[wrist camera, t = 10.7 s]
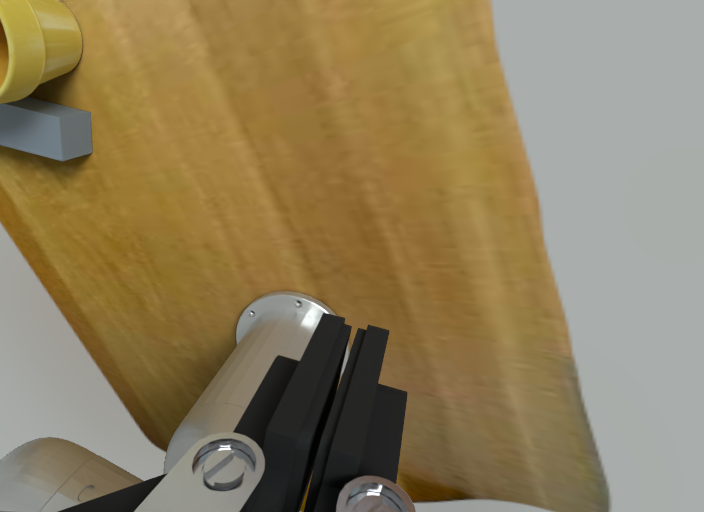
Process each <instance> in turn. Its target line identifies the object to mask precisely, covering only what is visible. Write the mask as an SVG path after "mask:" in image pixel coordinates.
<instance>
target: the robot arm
mask: <svg viewBox="0 0 704 512" xmlns="http://www.w3.org/2000/svg"><path fill="white" fill-rule="evenodd" d="M300 301H301V302H300ZM344 322H345V318H343V317H339V316H337V315H336V314H335V313H334V312H333V311H332V310H331V309H330V308H328V307H327V306H326V305H324V304H323V303H322V302H320V301H318V300H316V299H314V298H312V297H310V296H308V295H305V294H301V293H297V292H290V291H277V292H273V293H268V294H265V295H263V296H261V297H259V298H257V299H256V300H255V301H253V302H252V303H251V304H250V305H249V306H248V307H247V308H246V309H245V311H244V312H243V314H242V315H241V317H240V319H239V321H238V324H237V329H236V342H237V346H236V348H235V349H234V351H233V352H232V353H231V355H230V356H229V357H228V359H227V360H226V362H225V363H224V364H223V366H222V367H221V368H220V370H219V371H218V373H217V374H216V375H215V377H214V378H213V379H212V381H211V382H210V384H209V385H208V386H207V388H206V389H205V390H204V392H203V393H202V395H201V396H200V397H199V399H198V400H197V402H196V403H195V404H194V406H193V407H192V408H191V410H190V411H189V413H188V414H187V415H186V417H185V418H184V420H183V421H182V422H181V424H180V425H179V427H178V428H177V430H176V431H175V433H174V435H173V437H172V439H171V441H170V443H169V446H168V449H167V453H166V457H165V462H164V474H163V475H161V476H158V477H155V478H152V479H149V480H147V481H143V480H141V479H139V478H137V477H136V476H134V475H132V474H130V473H129V472H127V471H125V470H123V469H122V468H120V467H118V466H116V465H115V464H113V463H111V462H109V461H108V460H106V459H104V458H102V457H100V456H98V455H96V454H94V453H93V452H91V451H89V450H87V449H86V448H84V447H82V446H79V445H77V444H75V443H73V442H70V441H67V440H64V439H59V438H51V437H48V438H39V439H35V440H32V441H29V442H27V443H25V444H23V445H21V446H19V447H17V448H16V449H14V450H13V451H12V452H10V453H9V454H7V455H6V456H5V457H3V458H2V459H1V460H0V512H299V511H300V508H301V505H302V502H303V499H304V496H305V493H306V490H307V487H308V484H309V481H310V478H311V475H312V478H311V483H310V487H309V491H308V496H307V500H306V505H305V509H304V512H416V511H415V507H414V505H413V503H412V501H411V499H410V498H409V496H408V495H407V494H406V493H405V492H404V491H403V490H402V489H401V488H400V487H399V486H398V485H396V480H397V472H398V464H399V456H400V448H401V441H402V433H403V425H404V417H405V409H406V401H407V392H406V391H402V390H399V389H395V388H392V387H388V386H385V385H381V384H378V380H379V376H380V371H381V367H382V362H383V358H384V353H385V349H386V344H387V340H388V335H389V330H386V329H382V328H379V327H375V326H371V325H368V327H367V330H364V329H360V328H358V330H357V333H356V336H355V339H354V342H353V345H352V348H351V351H350V343H349V337H350V332H351V328H352V326H349V325H346V324H344ZM342 374H343V375H342ZM341 375H342V378H341V381H340V384H339V379H340V377H341ZM338 384H339V387H338ZM337 388H338V390H337ZM336 392H337V393H336ZM312 472H313V474H312Z"/></svg>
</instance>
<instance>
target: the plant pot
mask: <svg viewBox="0 0 704 512" xmlns="http://www.w3.org/2000/svg"><path fill="white" fill-rule="evenodd" d="M82 45H83V44H82V35H81V31H80V28H79V25H78V23H77V21H76V19H75V18H74V16H73V14H72V13H71V12H70V10H69V9H68V8H67V7H66V6H65V5H64V4H63V3H62V2H60V1H59V0H0V104H2V103H8V102H13V101H17V100H20V99H23V98H25V97H26V96H28V95H29V94H31V93H32V92H33V91H34V90H35V89H36V87H37V86H38V85H39V84H41V83H44V82H46V81H48V80H51V79H53V78H55V77H58V76H60V75H63V74H65V73H68V72H70V71H71V70H72V69H74V68H75V66H76V65H77V64H78V62H79V60H80V58H81V54H82Z"/></svg>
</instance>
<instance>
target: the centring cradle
mask: <svg viewBox="0 0 704 512" xmlns="http://www.w3.org/2000/svg"><path fill="white" fill-rule="evenodd" d="M0 145H2V146H6V147H9V148H13V149H17V150H21V151H25V152H29V153H33V154H36V155H40V156H44V157H48V158H52V159H56V160H60V161H66V160H69V159H73V158H76V157H80V156H83V155H86V154H90V153H92V133H91V112H87V111H83V110H79V109H75V108H71V107H67V106H63V105H59V104H55V103H51V102H47V101H43V100H39V99H35V98H31V97H27V96H26V97H25V98H23V99H20V100H17V101H13V102H8V103H2V104H0Z"/></svg>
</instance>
